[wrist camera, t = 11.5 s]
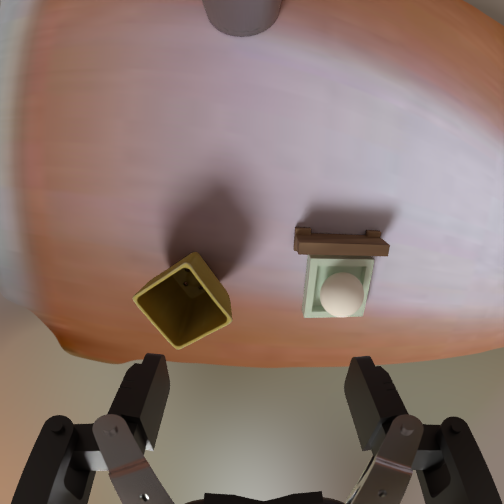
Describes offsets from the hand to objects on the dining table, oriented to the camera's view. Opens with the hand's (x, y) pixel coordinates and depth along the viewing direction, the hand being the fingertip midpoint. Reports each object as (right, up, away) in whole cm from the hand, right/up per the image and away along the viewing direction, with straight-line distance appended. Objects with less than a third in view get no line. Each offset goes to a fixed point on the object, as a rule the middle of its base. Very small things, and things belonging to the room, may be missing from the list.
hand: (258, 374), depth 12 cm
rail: (+11, +7, +28) cm, 31 cm away
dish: (+12, +1, +30) cm, 32 cm away
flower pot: (-8, +2, +30) cm, 31 cm away
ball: (+12, +1, +29) cm, 31 cm away
